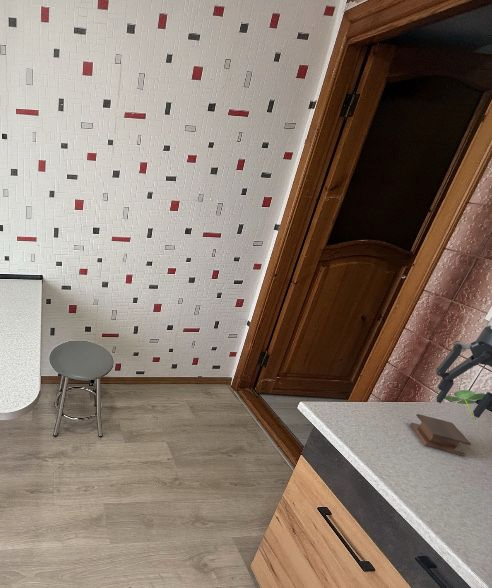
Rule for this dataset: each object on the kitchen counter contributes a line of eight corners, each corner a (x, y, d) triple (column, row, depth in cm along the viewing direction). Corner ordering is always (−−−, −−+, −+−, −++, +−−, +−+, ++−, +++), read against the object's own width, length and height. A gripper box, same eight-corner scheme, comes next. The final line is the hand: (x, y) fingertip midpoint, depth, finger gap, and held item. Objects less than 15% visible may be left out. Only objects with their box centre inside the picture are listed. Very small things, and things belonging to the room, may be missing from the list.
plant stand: (443, 434, 94) (452, 422, 93) (462, 456, 87) (471, 443, 86) (409, 425, 97) (416, 413, 95) (424, 445, 90) (432, 433, 88)
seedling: (454, 425, 88) (445, 402, 92) (500, 425, 82) (489, 399, 86) (446, 415, 85) (437, 391, 89) (493, 413, 79) (482, 388, 83)
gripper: (570, 344, 75) (508, 420, 84) (451, 312, 87) (408, 383, 96) (582, 356, 70) (515, 436, 79) (453, 321, 81) (408, 394, 91)
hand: (456, 407), depth 87 cm, fingers closed on seedling, 6 cm apart
